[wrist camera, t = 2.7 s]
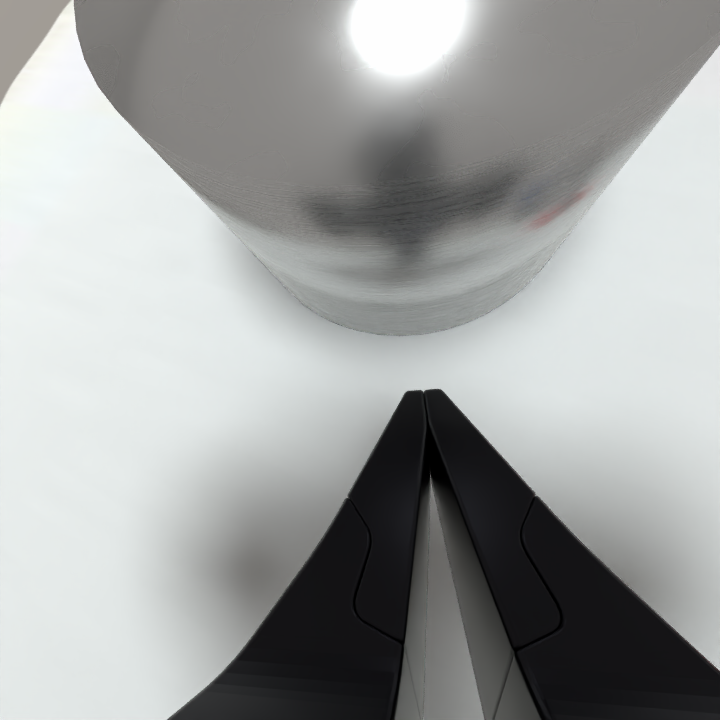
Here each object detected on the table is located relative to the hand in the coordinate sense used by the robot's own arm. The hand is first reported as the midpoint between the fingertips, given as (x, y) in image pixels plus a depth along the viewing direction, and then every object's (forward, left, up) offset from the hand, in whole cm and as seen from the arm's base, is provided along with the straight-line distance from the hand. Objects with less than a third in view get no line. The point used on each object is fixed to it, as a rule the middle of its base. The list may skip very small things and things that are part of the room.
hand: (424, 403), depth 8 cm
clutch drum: (+10, +7, -7) cm, 13 cm away
